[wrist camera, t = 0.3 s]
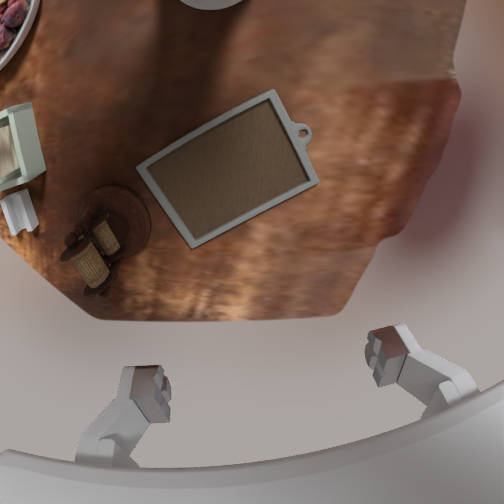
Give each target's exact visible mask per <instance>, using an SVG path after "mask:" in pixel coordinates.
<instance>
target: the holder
mask: <svg viewBox="0 0 504 504" xmlns="http://www.w3.org/2000/svg"><path fill="white" fill-rule="evenodd" d="M0 203H1V206H2V209H3V212H4V215H5V218H6V220H7V223H8V226H9V228H10V231H11V234H12V236H13V235H17V234H18V233H19V232H20V231H21V230H22V229H25V228H26V229H27V231H28V232H29V231H33V230H34V229H35V228H36V227H37V226H38V224H39V222H38V219H37V217H36V214H35V211H34V208H33V205H32V202H31V199H30V195H29V192H28V189H24V190H21V191H18V192H15V193H12V194H9V195H7V196H6V197H4V198H3V199H2V200H0Z"/></svg>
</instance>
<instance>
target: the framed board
mask: <svg viewBox="0 0 504 504" xmlns="http://www.w3.org/2000/svg"><path fill="white" fill-rule="evenodd" d="M301 130H306V131H307V135H306V136H305V137H304V138H301V137H300V136H299V135H300V133H299V131H301ZM311 138H312V131H311V129H310V128H309V127H308V126H307V125H305V124H302V123H297V124H295V123H294V122H293V121H291V120H290V118H289V116H288V114H287V112H286V110H285V108H284V106H283V104H282V102H281V100H280V98H279V96H278V95H277V93H276V91H275V89H271V90H269V91H267V92H265V93H263V94H261V95H259V96H257V97H255V98H253V99H251V100H249V101H247V102H245V103H243V104H241V105H239V106H237V107H235V108H233V109H231V110H229V111H228V112H226V113H224V114H222V115H220V116H218V117H216V118H215V119H213V120H211V121H209V122H207V123H206V124H204V125H202V126H200V127H199V128H197V129H195V130H193V131H192V132H190V133H188V134H187V135H185V136H183V137H182V138H180V139H178V140H177V141H175V142H173V143H172V144H170V145H168V146H167V147H165V148H164V149H162V150H160V151H159V152H157V153H156V154H154V155H153V156H151V157H150V158H148V159H146V160H145V161H143V162H142V163H140V164H139V165H138V166H137V167H136V169H137V171H138V172H139V174H140V175H141V177H142V178H143V180H144V181H145V183H146V184H147V186H148V187H149V189H150V190H151V192H152V193H153V195H154V196H155V197H156V199H157V200H158V202H159V203H160V205H161V206H162V208H163V209H164V210H165V212H166V213H167V215H168V216H169V218H170V219H171V220H172V222H173V223H174V225H175V226H176V228H177V229H178V230H179V232H180V233H181V235H182V236H183V237H184V239H185V240H186V242H187V243H188V244H189V246H190V247H191V248H192V249H193V248H195V247H197V246H199V245H201V244H202V243H204V242H206V241H208V240H210V239H212V238H214V237H215V236H217V235H219V234H221V233H223V232H225V231H227V230H229V229H230V228H232V227H234V226H236V225H238V224H240V223H242V222H244V221H246V220H248V219H249V218H251V217H253V216H255V215H257V214H259V213H261V212H263V211H265V210H267V209H269V208H271V207H273V206H274V205H276V204H278V203H280V202H282V201H284V200H286V199H288V198H290V197H292V196H294V195H296V194H298V193H300V192H302V191H304V190H306V189H308V188H310V187H312V186H314V185H316V184H318V183H319V179H318V177H317V175H316V173H315V170H314V168H313V166H312V164H311V162H310V159H309V157H308V155H307V153H306V151H307V147H306V145H307V144H308V143H309V142H310V140H311Z"/></svg>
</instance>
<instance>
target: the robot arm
mask: <svg viewBox="0 0 504 504" xmlns="http://www.w3.org/2000/svg"><path fill="white" fill-rule="evenodd" d="M180 1H182V2H183V3H185V4H187V5H189V6H191V7H194V8H197V9H203V10H217V9H223V8H227V7H230V6H232V5H234V4H236V3H238V2H240V1H241V0H180ZM367 338H368V340H369V342H368V344H367V345H366V347H365V358H366V361H367V364H368V366H369V367H370V368H372V369H373V370H374V372H373V377H374V379H375V381H376V384H377V386H378V387H382V386H386V385H389V384H393V383H397V384H398V385H399V386H401V387H402V388H404V389H405V390H406V391H408V392H409V393H410V394H412V395H413V396H414V397H416V398H417V399H419V400H420V401H421V402H422V403H424V404H425V405H427V408H426V409H425V411H424V413H423V414H422V416H421V420H418V421H416V422H413V423H410V424H408V425H405V426H403V427H399V428H397V429H394V430H391V431H388V432H385V433H382V434H379V435H375V436H372V437H369V438H366V439H362V440H359V441H355V442H352V443H348V444H344V445H341V446H336V447H332V448H328V449H324V450H320V451H315V452H311V453H306V454H301V455H296V456H291V457H285V458H279V459H273V460H266V461H259V462H251V463H244V464H234V465H223V466H210V467H194V468H193V467H191V468H139V465H138V464H137V463H136V462H135V461H134V460H133V459H131V457H129V455H130V454H131V452H132V451H133V449H134V448H135V446H136V445H137V443H138V442H139V440H140V439H141V437H142V436H143V434H144V433H145V431H146V430H147V428H148V427H149V425H150V424H149V423H165V422H170V407H169V405H168V402H169V401H170V400H171V386H170V383H169V380H168V378H167V377H166V376H164V370H163V368H162V366H161V365H149V366H128V367H124V369H123V370H122V374H121V379H120V384H119V389H118V394H117V399H114V400H112V402H111V403H110V404H109V405H108V406H107V407H106V408H105V409H104V410H103V411H102V412H101V413H100V414H99V416H98V417H97V418H96V419H95V420H94V421H93V422H92V423H91V424H90V425H89V426H88V427H87V428H86V430H85V431H84V432H83V433H82V434H81V435H80V437H79V441H78V447H77V451H76V457H75V462H71V461H65V460H59V459H53V458H47V457H42V456H38V455H33V454H28V453H24V452H20V451H16V450H10V449H7V450H4V451H3V452H1V453H0V504H504V380H503V381H501V382H499V383H497V384H496V385H494V386H492V387H490V388H488V389H486V390H484V391H483V392H480V391H479V389H478V387H477V386H476V384H475V383H474V381H473V379H472V378H471V376H470V375H469V373H468V372H467V371H466V370H464V369H462V368H460V367H458V366H456V365H454V364H453V363H451V362H449V361H447V360H445V359H443V358H441V357H439V356H437V355H435V354H433V353H431V352H430V351H428V350H426V349H422V350H421V348H420V346H419V345H418V343H417V342H416V340H415V339H414V337H413V336H412V334H411V333H410V331H409V329H408V328H407V326H406V325H405V324H404V323H400V324H396V325H392V326H387V327H384V328H380V329H376V330H372V331H370V332H369V333H368V337H367Z"/></svg>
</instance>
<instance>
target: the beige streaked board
mask: <svg viewBox="0 0 504 504" xmlns="http://www.w3.org/2000/svg"><path fill="white" fill-rule="evenodd" d="M19 167H20V166H19V162H18V158H17V154H16V150H15V146H14V141H13V137H12V132H11V128H10V125H8V126H5V127H2V128H0V179H1V178H3V177H4V176H6V175H7V174H9V173H11V172H12V171H14V170H16V169H17V168H19Z"/></svg>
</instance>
